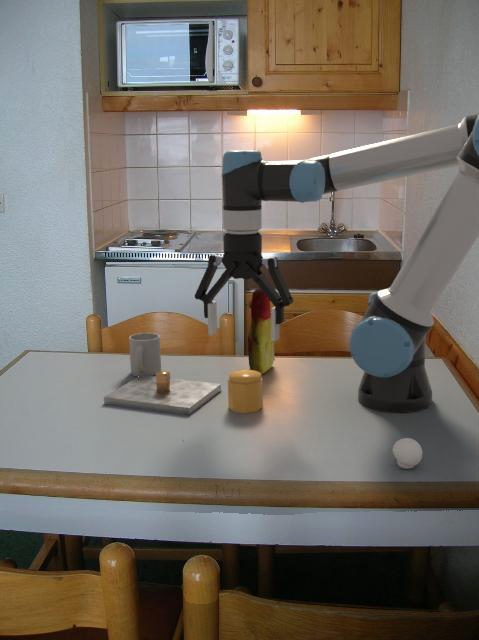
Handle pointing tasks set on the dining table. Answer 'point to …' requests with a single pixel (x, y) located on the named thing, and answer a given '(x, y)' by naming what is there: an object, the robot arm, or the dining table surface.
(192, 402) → the plate
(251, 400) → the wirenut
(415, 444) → the mushroom
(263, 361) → the bottle
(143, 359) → the cup
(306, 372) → the dining table surface
